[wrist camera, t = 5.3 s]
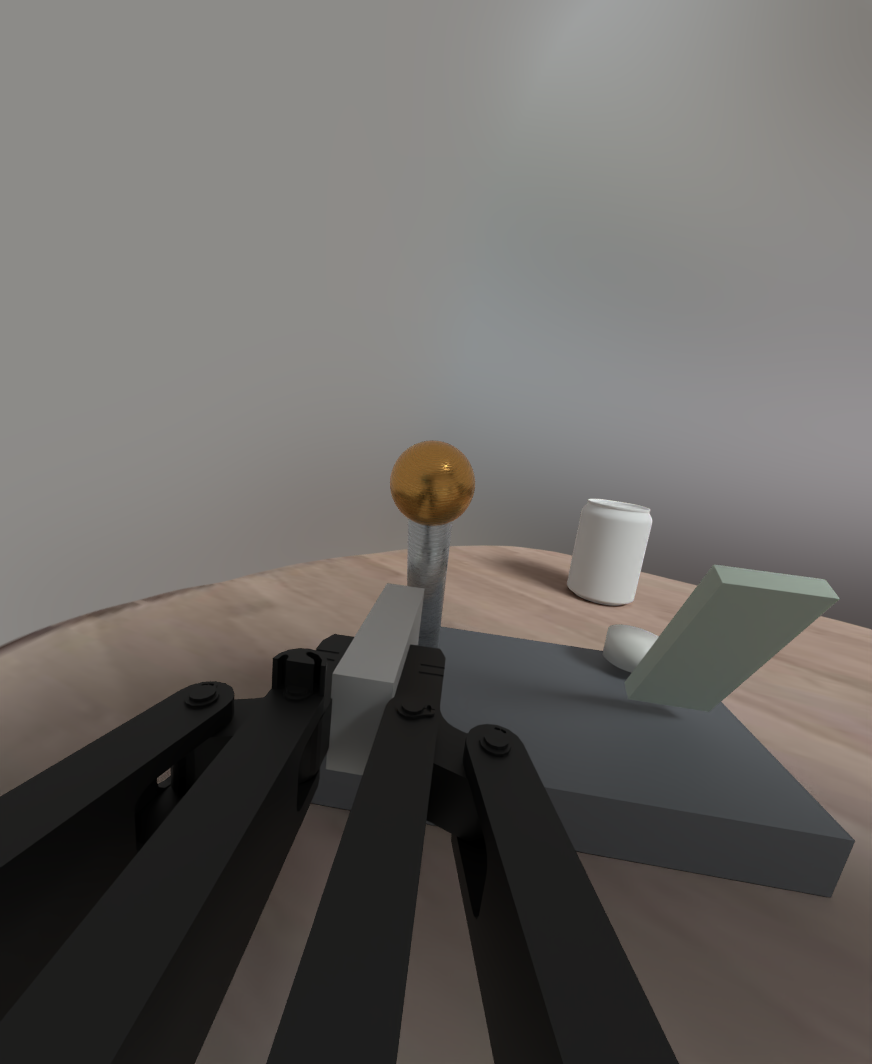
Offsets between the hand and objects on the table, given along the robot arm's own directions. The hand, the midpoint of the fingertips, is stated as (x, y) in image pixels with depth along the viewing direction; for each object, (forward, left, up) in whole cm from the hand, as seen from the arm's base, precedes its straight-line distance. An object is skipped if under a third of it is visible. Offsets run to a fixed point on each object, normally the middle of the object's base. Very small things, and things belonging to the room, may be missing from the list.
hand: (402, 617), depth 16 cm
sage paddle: (-16, -2, -6) cm, 17 cm away
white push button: (-18, -6, -7) cm, 20 cm away
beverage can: (-32, -27, -10) cm, 43 cm away
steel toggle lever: (-3, -7, -6) cm, 10 cm away
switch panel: (-10, -4, -10) cm, 14 cm away
